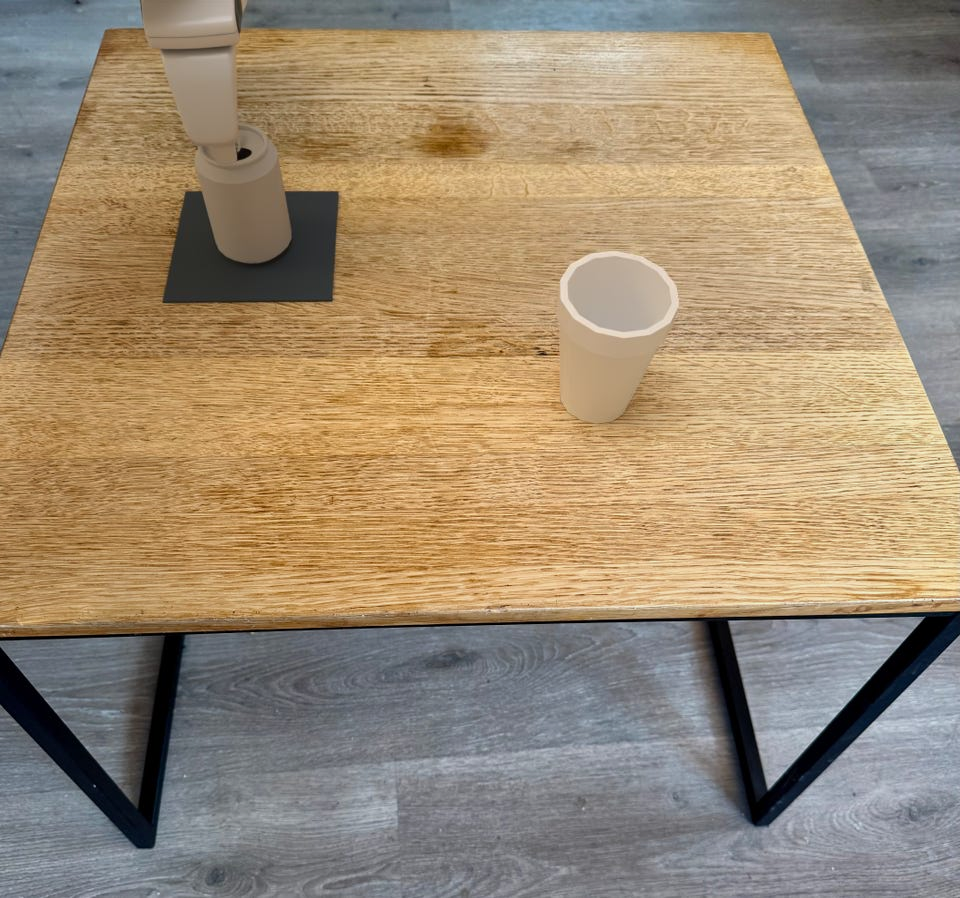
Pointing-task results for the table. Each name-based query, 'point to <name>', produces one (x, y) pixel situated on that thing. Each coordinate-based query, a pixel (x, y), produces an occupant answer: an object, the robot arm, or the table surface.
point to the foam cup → (610, 330)
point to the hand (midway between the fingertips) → (226, 125)
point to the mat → (281, 279)
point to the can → (246, 198)
